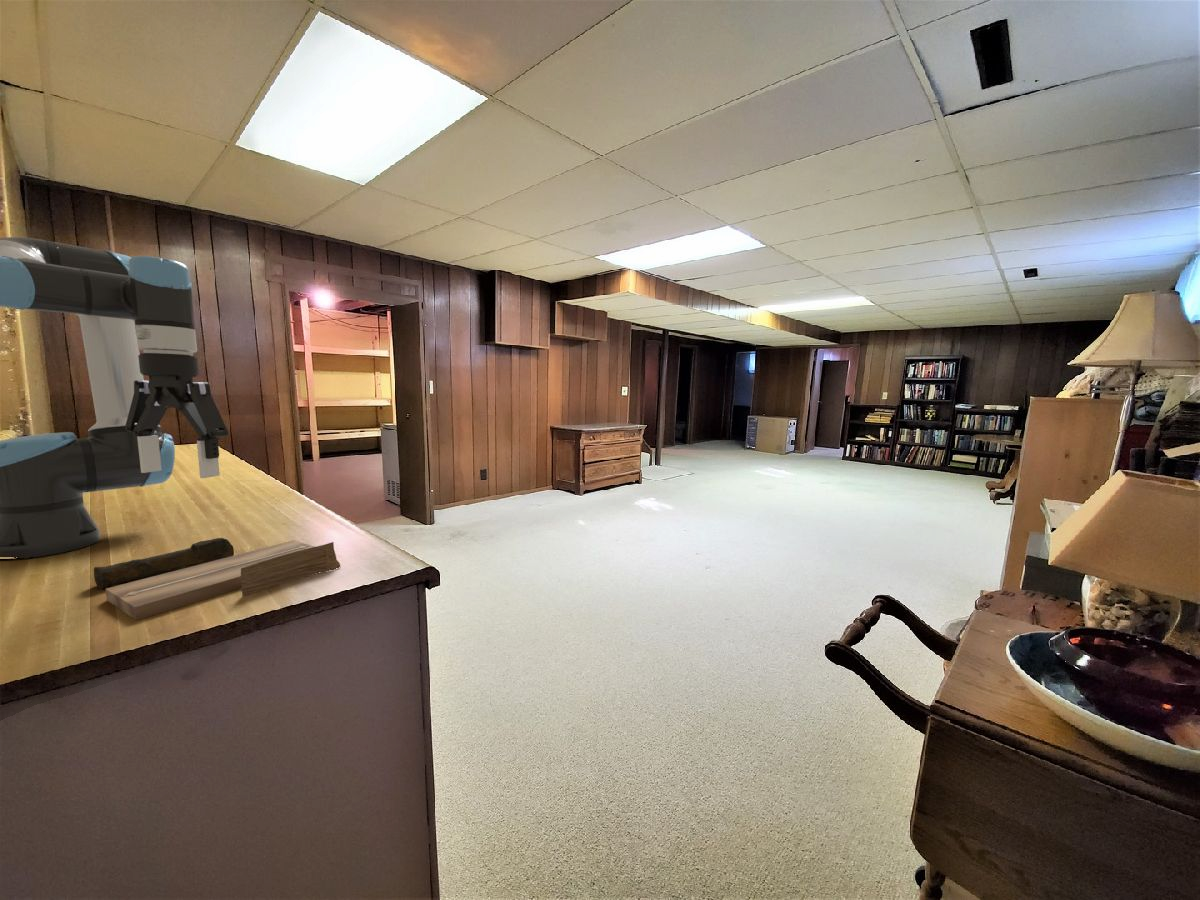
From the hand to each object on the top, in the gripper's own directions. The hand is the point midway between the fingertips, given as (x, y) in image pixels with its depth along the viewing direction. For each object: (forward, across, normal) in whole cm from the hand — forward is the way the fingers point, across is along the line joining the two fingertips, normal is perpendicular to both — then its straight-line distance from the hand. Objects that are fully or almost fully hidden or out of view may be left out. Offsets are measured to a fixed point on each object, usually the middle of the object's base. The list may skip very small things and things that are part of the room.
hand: (180, 474), depth 82 cm
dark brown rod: (+19, -4, -1) cm, 19 cm away
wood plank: (+18, +22, +2) cm, 28 cm away
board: (+18, +10, 0) cm, 21 cm away
